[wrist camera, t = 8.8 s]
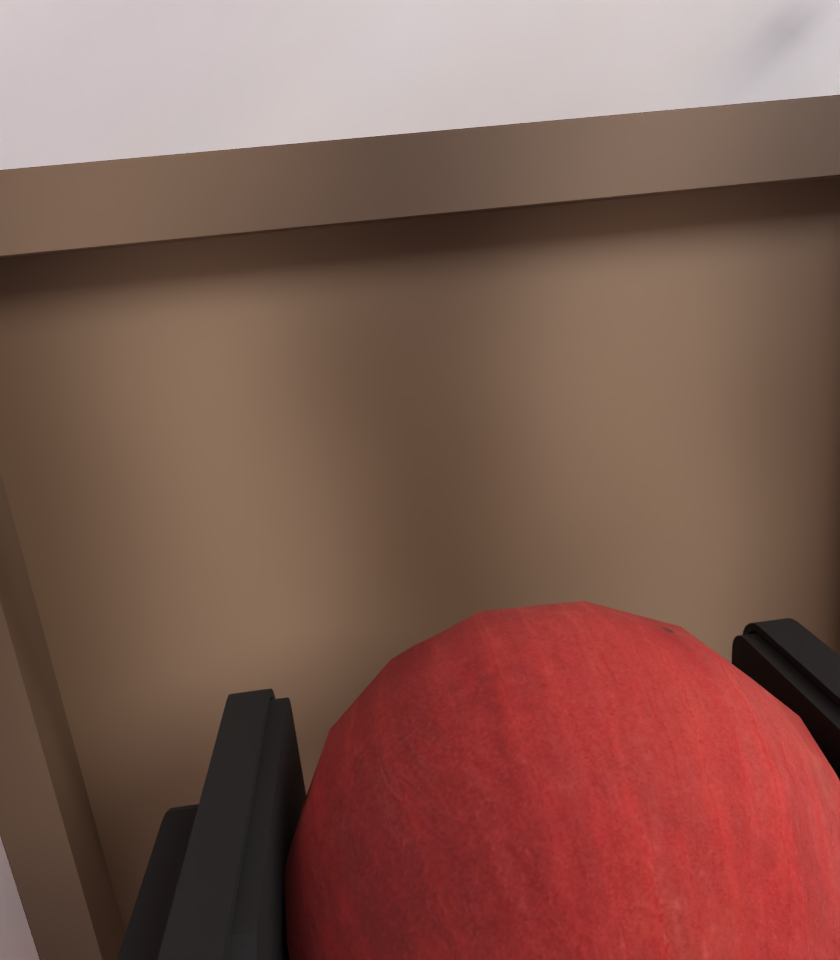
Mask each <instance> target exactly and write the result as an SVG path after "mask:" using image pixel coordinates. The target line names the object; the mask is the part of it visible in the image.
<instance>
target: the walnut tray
mask: <svg viewBox="0 0 840 960" xmlns="http://www.w3.org/2000/svg"><path fill="white" fill-rule="evenodd" d="M579 601H587V602H590V603H594V604H598V605H602V606H605V607H609V608H613V609H617V610H620V611H624V612H628V613H632V614H636V615H639V616H643V617H647V618H651V619H654V620H658V621H662V622H666V623H669V624H673V625H677V626H681V627H682V628H683V629H685V630H686V631H688V632H689V633H690V634H692V635H693V636H694V637H696V638H697V639H699V640H700V641H701V642H703V643H704V644H705V645H707V646H708V647H709V648H711V649H712V650H714V651H715V652H716V653H718V654H719V655H720V656H722V657H723V658H725V659H726V660H727V661H729V662H730V663H731V664H732V644H733V640H734V638H735V637H736V636H738V635H743V631H744V628H745V626H746V625H748V624H749V623H754V622H762V621H769V620H777V619H784V618H792V619H794V620H796V621H797V622H799V623H800V624H801V625H802V626H804V627H805V628H806V629H807V630H809V631H810V632H811V633H812V634H813V635H815V636H816V637H817V638H818V639H820V640H821V641H822V642H823V643H825V644H826V645H827V646H828V647H830V648H831V649H832V650H833V651H835V652H836V653H837V654H838V655H840V95H832V96H821V97H810V98H799V99H788V100H777V101H765V102H754V103H743V104H732V105H721V106H710V107H699V108H687V109H676V110H665V111H654V112H643V113H632V114H621V115H609V116H598V117H587V118H576V119H565V120H554V121H542V122H531V123H520V124H509V125H498V126H487V127H476V128H464V129H453V130H442V131H431V132H420V133H409V134H398V135H386V136H375V137H364V138H353V139H342V140H331V141H319V142H308V143H297V144H286V145H275V146H264V147H253V148H241V149H230V150H219V151H208V152H197V153H186V154H175V155H163V156H152V157H141V158H130V159H119V160H108V161H97V162H85V163H74V164H63V165H52V166H41V167H30V168H18V169H7V170H0V836H1V839H2V842H3V845H4V848H5V852H6V855H7V858H8V861H9V864H10V867H11V870H12V874H13V877H14V880H15V883H16V886H17V889H18V893H19V896H20V899H21V902H22V905H23V908H24V911H25V915H26V918H27V921H28V924H29V927H30V930H31V934H32V937H33V940H34V943H35V946H36V949H37V952H38V956H39V959H40V960H117V958H118V955H119V952H120V948H121V945H122V942H123V939H124V936H125V933H126V930H127V927H128V924H129V921H130V918H131V915H132V911H133V908H134V905H135V902H136V899H137V896H138V893H139V890H140V887H141V884H142V881H143V877H144V874H145V871H146V868H147V865H148V862H149V859H150V856H151V853H152V850H153V847H154V844H155V840H156V837H157V834H158V831H159V828H160V825H161V822H162V820H163V817H164V815H165V813H166V812H167V811H168V810H169V809H170V808H174V807H181V806H188V805H195V804H199V802H200V798H201V794H202V790H203V787H204V783H205V779H206V775H207V772H208V768H209V764H210V760H211V757H212V753H213V749H214V745H215V742H216V738H217V734H218V730H219V726H220V723H221V719H222V715H223V711H224V708H225V704H226V700H227V697H228V695H229V694H233V693H240V692H248V691H255V690H262V689H270V688H271V689H272V690H273V692H274V695H275V699H279V698H286V697H288V698H289V699H290V703H291V707H292V713H293V719H294V725H295V731H296V737H297V743H298V749H299V755H300V761H301V767H302V773H303V779H304V785H305V791H306V795H307V792H308V789H309V787H310V784H311V781H312V778H313V775H314V773H315V770H316V767H317V764H318V761H319V758H320V756H321V753H322V750H323V747H324V744H325V742H326V739H327V736H328V733H329V730H330V729H331V727H332V726H333V725H334V724H335V723H336V722H337V721H338V719H339V718H340V717H341V716H342V715H343V714H344V713H345V711H346V710H347V709H348V708H349V707H350V706H351V705H352V703H353V702H354V701H355V700H356V699H357V698H358V696H359V695H360V694H361V693H362V692H363V691H364V690H365V688H366V687H367V686H368V685H369V684H370V683H371V682H372V680H373V679H374V678H375V677H376V676H377V675H378V674H379V672H380V671H381V670H382V669H383V668H384V667H385V666H386V664H387V663H388V662H389V661H390V660H391V659H393V658H394V657H396V656H397V655H399V654H401V653H402V652H404V651H405V650H407V649H408V648H410V647H412V646H413V645H415V644H418V643H420V642H422V641H424V640H426V639H428V638H431V637H433V636H435V635H437V634H439V633H441V632H442V631H444V630H446V629H448V628H450V627H452V626H453V625H455V624H457V623H459V622H461V621H463V620H464V619H466V618H468V617H470V616H472V615H474V614H475V613H477V612H479V611H485V610H495V609H506V608H516V607H527V606H537V605H548V604H558V603H569V602H579Z"/></svg>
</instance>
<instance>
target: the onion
mask: <svg viewBox="0 0 840 960" xmlns="http://www.w3.org/2000/svg"><path fill="white" fill-rule="evenodd" d="M284 893H285V914H286V935H287V946H288V953H289V959H290V960H840V780H839V778H838V777H837V775H836V773H835V772H834V770H833V768H832V767H831V765H830V764H829V762H828V760H827V759H826V757H825V756H824V754H823V753H822V751H821V749H820V748H819V746H818V745H817V743H816V741H815V740H814V738H813V737H812V735H811V734H810V732H809V730H808V729H807V727H806V726H805V724H804V723H803V721H802V719H801V718H800V716H798V715H797V714H796V713H795V712H793V711H792V710H791V709H789V708H788V707H787V706H786V705H784V704H783V703H782V702H781V701H779V700H778V699H777V698H776V697H774V696H773V695H772V694H771V693H769V692H768V691H767V690H766V689H764V688H763V687H762V686H761V685H759V684H758V683H757V682H756V681H754V680H753V679H752V678H750V677H749V676H748V675H746V674H745V673H744V672H742V671H741V670H740V669H738V668H737V667H735V666H734V665H733V664H731V663H730V662H729V661H727V660H726V659H725V658H723V657H722V656H720V655H719V654H718V653H716V652H715V651H714V650H712V649H711V648H709V647H708V646H707V645H705V644H704V643H703V642H701V641H700V640H699V639H697V638H696V637H694V636H693V635H692V634H690V633H689V632H688V631H686V630H685V629H683V628H682V627H681V626H677V625H673V624H669V623H666V622H662V621H658V620H654V619H651V618H647V617H643V616H639V615H636V614H632V613H628V612H624V611H620V610H617V609H613V608H609V607H605V606H602V605H598V604H594V603H590V602H587V601H579V602H569V603H558V604H548V605H537V606H527V607H516V608H506V609H495V610H485V611H479V612H477V613H475V614H474V615H472V616H470V617H468V618H466V619H464V620H463V621H461V622H459V623H457V624H455V625H453V626H452V627H450V628H448V629H446V630H444V631H442V632H441V633H439V634H437V635H435V636H433V637H431V638H428V639H426V640H424V641H422V642H420V643H418V644H415V645H413V646H412V647H410V648H408V649H407V650H405V651H404V652H402V653H401V654H399V655H397V656H396V657H394V658H393V659H391V660H390V661H389V662H388V663H387V664H386V666H385V667H384V668H383V669H382V670H381V671H380V672H379V674H378V675H377V676H376V677H375V678H374V679H373V680H372V682H371V683H370V684H369V685H368V686H367V687H366V688H365V690H364V691H363V692H362V693H361V694H360V695H359V696H358V698H357V699H356V700H355V701H354V702H353V703H352V705H351V706H350V707H349V708H348V709H347V710H346V711H345V713H344V714H343V715H342V716H341V717H340V718H339V719H338V721H337V722H336V723H335V724H334V725H333V726H332V727H331V729H330V730H329V733H328V736H327V739H326V742H325V744H324V747H323V750H322V753H321V756H320V758H319V761H318V764H317V767H316V770H315V773H314V775H313V778H312V781H311V784H310V787H309V789H308V792H307V795H306V798H305V801H304V804H303V806H302V810H301V813H300V816H299V820H298V823H297V827H296V830H295V833H294V837H293V840H292V844H291V847H290V850H289V854H288V857H287V860H286V864H285V867H284Z"/></svg>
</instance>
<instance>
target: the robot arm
mask: <svg viewBox="0 0 840 960" xmlns="http://www.w3.org/2000/svg"><path fill="white" fill-rule="evenodd" d="M732 664H733V665H734V666H735V667H737V668H738V669H740V670H741V671H742V672H744V673H745V674H746V675H748V676H749V677H750V678H752V679H753V680H754V681H756V682H757V683H758V684H759V685H761V686H762V687H763V688H764V689H766V690H767V691H768V692H769V693H771V694H772V695H773V696H774V697H776V698H777V699H778V700H779V701H781V702H782V703H783V704H784V705H786V706H787V707H788V708H789V709H791V710H792V711H793V712H795V713H796V714H797V715H798V716H800V718H801V719H802V721H803V723H804V724H805V726H806V727H807V729H808V730H809V732H810V734H811V735H812V737H813V738H814V740H815V741H816V743H817V745H818V746H819V748H820V749H821V751H822V753H823V754H824V756H825V757H826V759H827V760H828V762H829V764H830V765H831V767H832V768H833V770H834V772H835V773H836V775H837V777H838V778H839V780H840V655H838V654H837V653H836V652H835V651H833V650H832V649H831V648H830V647H828V646H827V645H826V644H825V643H823V642H822V641H821V640H820V639H818V638H817V637H816V636H815V635H813V634H812V633H811V632H810V631H809V630H807V629H806V628H805V627H804V626H802V625H801V624H800V623H799V622H797V621H796V620H794V619H792V618H784V619H777V620H769V621H762V622H754V623H749V624H748V625H746V626H745V628H744V631H743V635H738V636H736V637H735V638H734V640H733V644H732ZM305 798H306V791H305V785H304V779H303V773H302V767H301V761H300V755H299V749H298V743H297V737H296V731H295V725H294V719H293V713H292V707H291V703H290V699H289V698H288V697H286V698H279V699H275V695H274V692H273V690H272V689H271V688H270V689H262V690H255V691H248V692H240V693H233V694H229V695H228V697H227V700H226V704H225V708H224V711H223V715H222V719H221V723H220V726H219V730H218V734H217V738H216V742H215V745H214V749H213V753H212V757H211V760H210V764H209V768H208V772H207V775H206V779H205V783H204V787H203V790H202V794H201V798H200V802H199V804H195V805H188V806H181V807H174V808H170V809H169V810H168V811H167V812H166V813H165V815H164V817H163V820H162V822H161V825H160V828H159V831H158V834H157V837H156V840H155V844H154V847H153V850H152V853H151V856H150V859H149V862H148V865H147V868H146V871H145V874H144V877H143V881H142V884H141V887H140V890H139V893H138V896H137V899H136V902H135V905H134V908H133V911H132V915H131V918H130V921H129V924H128V927H127V930H126V933H125V936H124V939H123V942H122V945H121V948H120V952H119V955H118V958H117V960H290V959H289V953H288V946H287V935H286V914H285V893H284V867H285V864H286V860H287V857H288V854H289V850H290V847H291V844H292V840H293V837H294V833H295V830H296V827H297V823H298V820H299V816H300V813H301V810H302V806H303V804H304V801H305Z"/></svg>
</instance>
